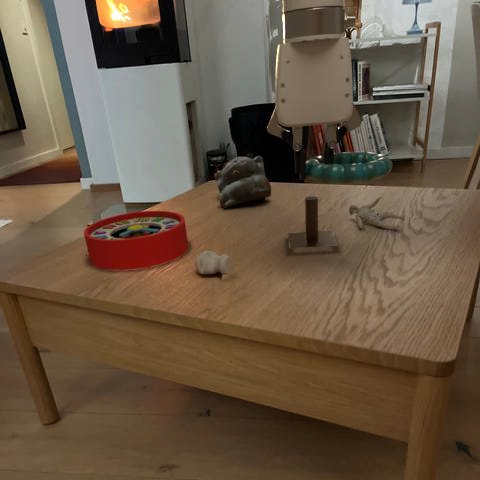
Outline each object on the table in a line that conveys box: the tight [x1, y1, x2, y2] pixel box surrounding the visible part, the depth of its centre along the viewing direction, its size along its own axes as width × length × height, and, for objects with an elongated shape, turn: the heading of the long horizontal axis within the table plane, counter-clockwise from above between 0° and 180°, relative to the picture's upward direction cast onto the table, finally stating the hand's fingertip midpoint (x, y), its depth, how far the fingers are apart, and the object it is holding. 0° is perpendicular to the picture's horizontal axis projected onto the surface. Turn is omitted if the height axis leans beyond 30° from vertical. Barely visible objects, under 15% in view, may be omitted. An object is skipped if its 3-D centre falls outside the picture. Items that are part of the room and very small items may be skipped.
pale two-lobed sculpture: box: [194, 250, 235, 276], centre depth 83 cm, size 4×8×5 cm
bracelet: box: [305, 151, 393, 185], centre depth 67 cm, size 12×12×2 cm
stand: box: [287, 196, 338, 249], centre depth 91 cm, size 9×9×9 cm
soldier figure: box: [348, 196, 406, 231], centre depth 100 cm, size 8×5×12 cm
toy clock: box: [83, 210, 189, 272], centre depth 96 cm, size 20×6×20 cm
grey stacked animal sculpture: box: [214, 152, 272, 209], centre depth 125 cm, size 15×12×14 cm
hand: (314, 176), depth 68 cm, fingers closed on bracelet, 2 cm apart
